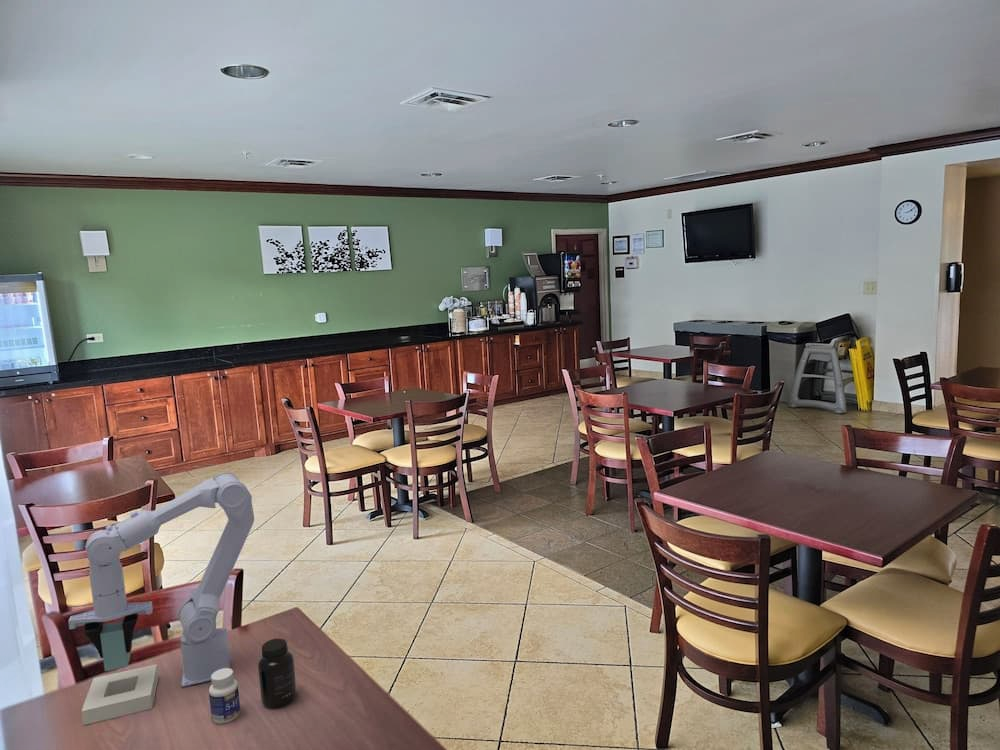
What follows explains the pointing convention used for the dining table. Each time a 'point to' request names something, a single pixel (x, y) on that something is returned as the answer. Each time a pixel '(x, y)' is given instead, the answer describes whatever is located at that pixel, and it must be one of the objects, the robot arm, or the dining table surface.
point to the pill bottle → (224, 696)
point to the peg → (114, 646)
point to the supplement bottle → (276, 674)
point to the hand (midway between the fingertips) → (116, 652)
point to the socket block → (107, 706)
